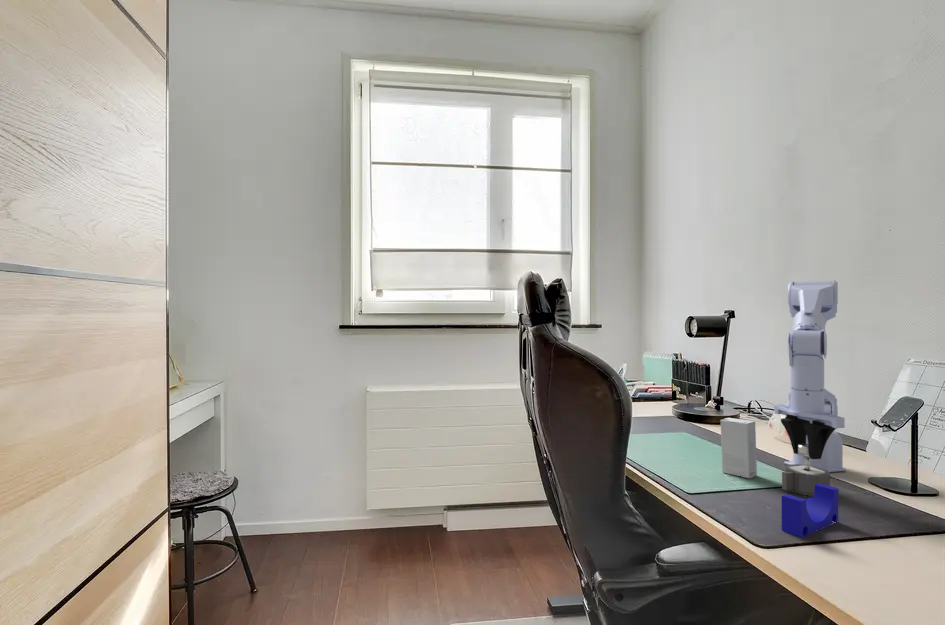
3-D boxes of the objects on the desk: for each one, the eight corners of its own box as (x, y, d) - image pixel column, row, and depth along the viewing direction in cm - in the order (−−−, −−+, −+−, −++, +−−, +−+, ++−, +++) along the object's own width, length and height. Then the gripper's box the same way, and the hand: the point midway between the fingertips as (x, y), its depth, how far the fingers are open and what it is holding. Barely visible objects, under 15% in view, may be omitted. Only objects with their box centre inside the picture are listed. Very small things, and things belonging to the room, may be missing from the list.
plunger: (806, 470, 104) (806, 442, 104) (820, 475, 101) (820, 446, 101) (793, 471, 103) (793, 443, 103) (807, 476, 100) (807, 447, 100)
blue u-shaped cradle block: (810, 514, 91) (810, 480, 91) (838, 523, 87) (838, 488, 87) (772, 528, 85) (772, 492, 85) (801, 538, 81) (800, 501, 81)
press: (806, 483, 106) (806, 463, 106) (838, 495, 99) (838, 474, 99) (769, 486, 104) (769, 466, 104) (799, 499, 97) (799, 477, 97)
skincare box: (757, 475, 111) (757, 421, 111) (749, 479, 109) (749, 423, 109) (729, 468, 116) (729, 416, 116) (720, 472, 113) (720, 419, 113)
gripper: (762, 384, 108) (762, 447, 108) (823, 395, 94) (823, 468, 94) (789, 383, 110) (789, 445, 110) (853, 394, 96) (853, 465, 96)
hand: (807, 456), depth 102 cm, fingers closed on plunger, 3 cm apart
